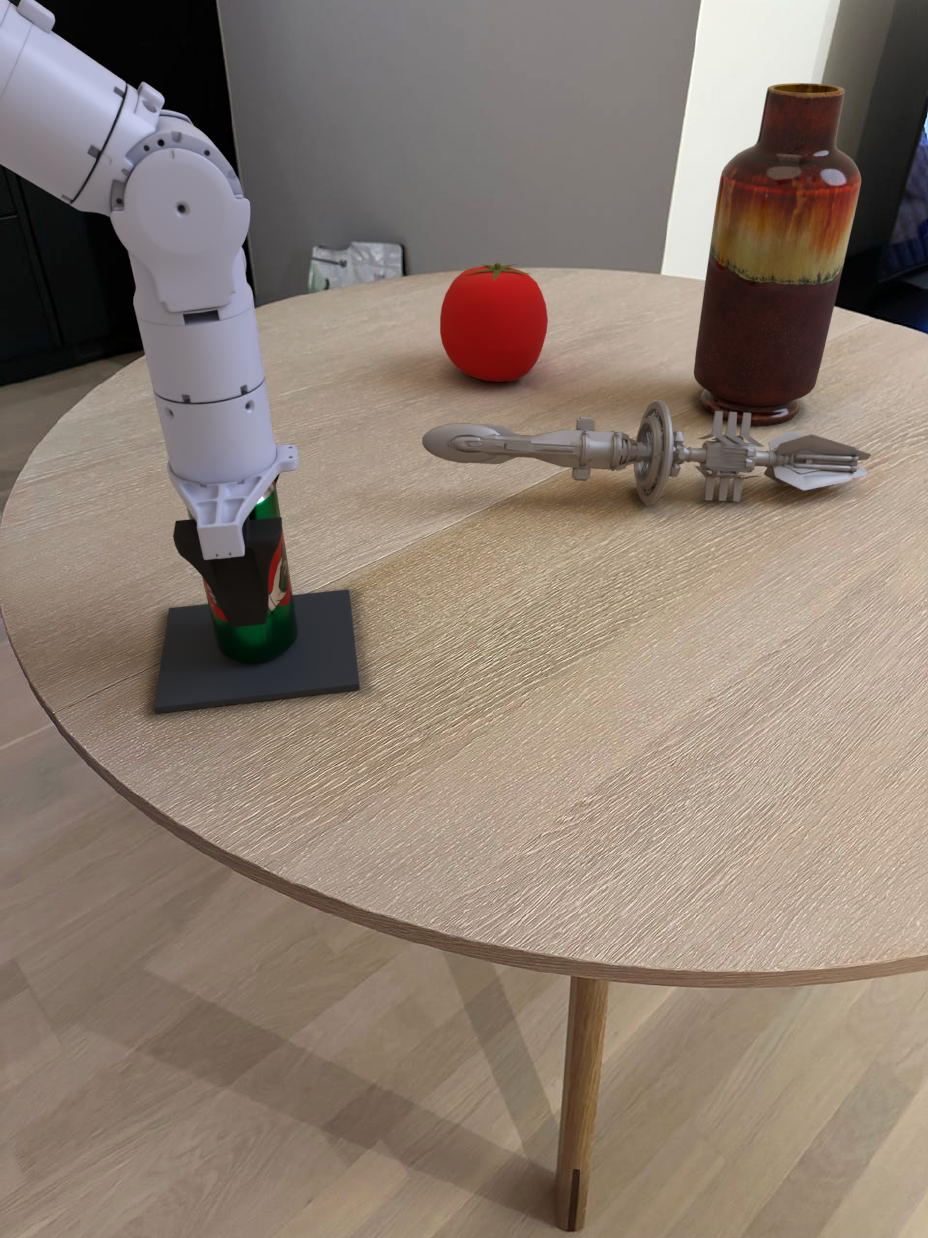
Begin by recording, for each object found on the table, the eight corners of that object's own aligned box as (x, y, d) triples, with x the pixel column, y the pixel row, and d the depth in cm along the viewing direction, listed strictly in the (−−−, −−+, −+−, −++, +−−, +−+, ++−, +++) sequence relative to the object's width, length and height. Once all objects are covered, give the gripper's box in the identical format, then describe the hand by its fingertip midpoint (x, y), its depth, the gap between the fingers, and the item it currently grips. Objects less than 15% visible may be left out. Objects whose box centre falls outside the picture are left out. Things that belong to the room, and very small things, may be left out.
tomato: (488, 404, 88) (488, 289, 82) (422, 372, 95) (417, 263, 88) (568, 376, 93) (574, 266, 87) (500, 347, 100) (501, 242, 94)
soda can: (285, 610, 61) (259, 445, 54) (310, 653, 58) (285, 482, 50) (209, 632, 60) (171, 464, 52) (230, 677, 56) (192, 504, 49)
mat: (155, 714, 54) (153, 707, 54) (170, 613, 62) (168, 607, 62) (359, 689, 56) (359, 683, 55) (349, 594, 64) (348, 588, 63)
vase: (756, 374, 93) (811, 74, 77) (836, 415, 85) (915, 91, 69) (665, 395, 89) (703, 84, 74) (739, 440, 81) (799, 103, 66)
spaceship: (421, 385, 72) (427, 386, 65) (848, 410, 76) (901, 414, 68) (417, 487, 74) (422, 500, 66) (833, 507, 78) (883, 521, 70)
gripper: (288, 435, 43) (320, 661, 51) (285, 327, 54) (312, 526, 63) (131, 449, 42) (190, 676, 50) (162, 336, 54) (205, 537, 62)
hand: (250, 594), depth 56 cm, fingers closed on soda can, 5 cm apart
